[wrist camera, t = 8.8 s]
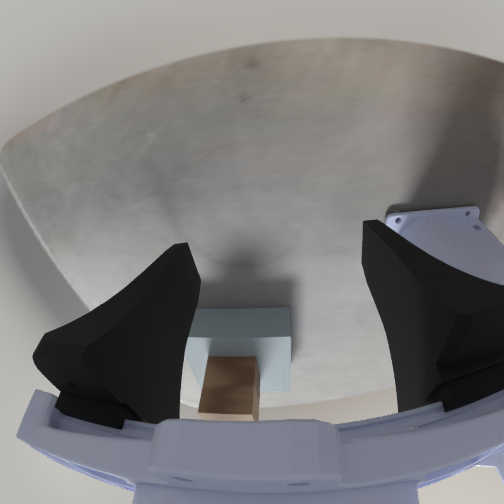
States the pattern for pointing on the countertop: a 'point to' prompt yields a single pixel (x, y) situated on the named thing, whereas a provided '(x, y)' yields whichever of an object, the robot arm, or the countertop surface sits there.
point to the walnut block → (230, 389)
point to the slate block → (243, 342)
